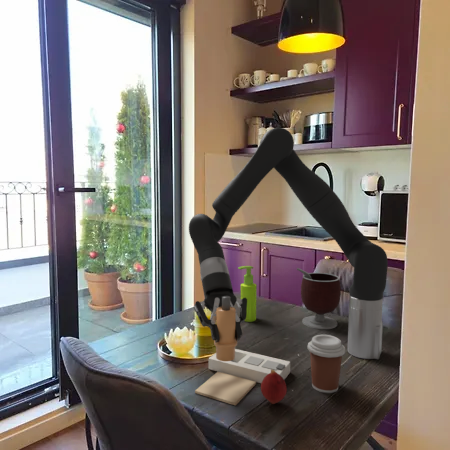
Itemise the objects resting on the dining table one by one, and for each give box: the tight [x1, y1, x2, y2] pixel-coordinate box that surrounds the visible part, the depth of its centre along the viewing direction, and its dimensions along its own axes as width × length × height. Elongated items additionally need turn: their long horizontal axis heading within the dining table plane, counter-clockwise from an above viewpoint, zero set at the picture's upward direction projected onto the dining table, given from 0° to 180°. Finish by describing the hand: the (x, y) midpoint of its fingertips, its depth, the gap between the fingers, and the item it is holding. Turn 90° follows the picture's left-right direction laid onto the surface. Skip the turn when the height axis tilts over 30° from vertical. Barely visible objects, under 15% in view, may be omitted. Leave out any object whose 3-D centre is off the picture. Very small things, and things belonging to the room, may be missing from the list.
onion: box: [260, 370, 288, 405], centre depth 89 cm, size 6×6×8 cm
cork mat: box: [194, 371, 257, 406], centre depth 96 cm, size 11×11×1 cm
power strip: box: [208, 348, 291, 384], centre depth 105 cm, size 20×9×3 cm, turn 61°
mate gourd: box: [296, 267, 342, 330], centre depth 140 cm, size 16×14×20 cm
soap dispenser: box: [237, 265, 257, 323], centre depth 144 cm, size 6×7×20 cm
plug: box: [213, 296, 238, 361], centre depth 94 cm, size 6×6×15 cm
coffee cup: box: [306, 334, 346, 394], centre depth 96 cm, size 9×9×12 cm
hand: (228, 339), depth 92 cm, fingers closed on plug, 4 cm apart
